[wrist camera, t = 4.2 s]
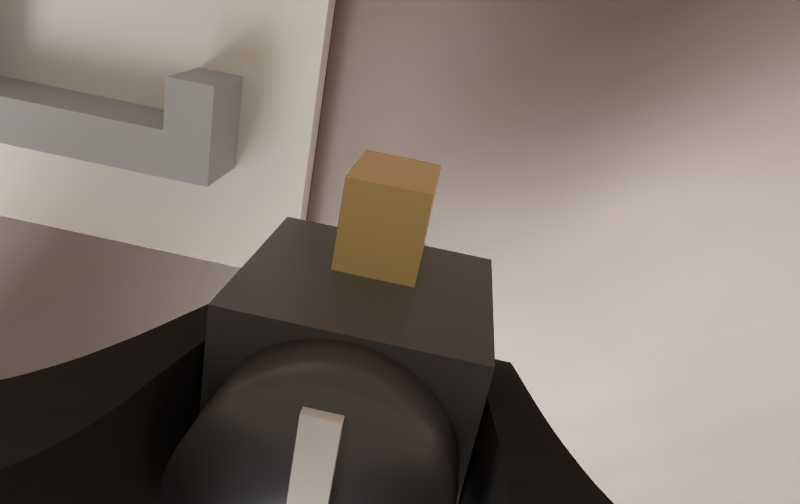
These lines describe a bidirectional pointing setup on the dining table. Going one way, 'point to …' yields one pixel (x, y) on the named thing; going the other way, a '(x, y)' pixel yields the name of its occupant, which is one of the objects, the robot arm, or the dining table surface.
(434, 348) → the knob
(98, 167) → the hub panel
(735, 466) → the dining table surface
